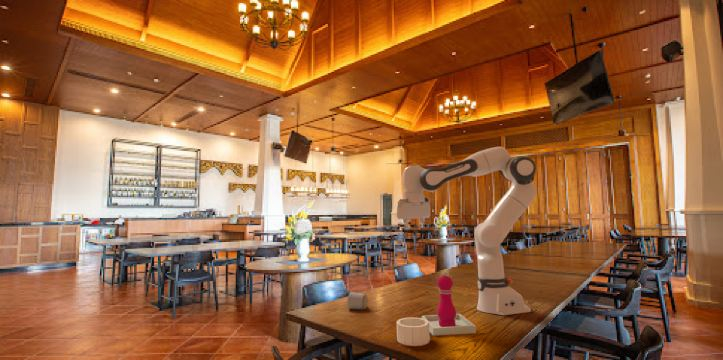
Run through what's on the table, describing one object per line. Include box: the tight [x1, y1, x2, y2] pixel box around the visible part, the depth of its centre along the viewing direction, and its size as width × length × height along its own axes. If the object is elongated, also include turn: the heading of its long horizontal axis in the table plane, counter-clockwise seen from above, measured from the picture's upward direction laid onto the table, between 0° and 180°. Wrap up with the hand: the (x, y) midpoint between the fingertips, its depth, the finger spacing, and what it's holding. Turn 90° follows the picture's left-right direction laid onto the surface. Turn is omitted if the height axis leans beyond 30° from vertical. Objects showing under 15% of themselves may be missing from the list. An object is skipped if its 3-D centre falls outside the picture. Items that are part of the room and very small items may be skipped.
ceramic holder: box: [396, 317, 431, 347], centre depth 119 cm, size 11×11×6 cm
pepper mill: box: [436, 271, 457, 327], centre depth 133 cm, size 7×7×20 cm
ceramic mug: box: [347, 291, 369, 311], centre depth 163 cm, size 11×8×8 cm
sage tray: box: [421, 313, 477, 337], centre depth 132 cm, size 16×16×2 cm
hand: (414, 228), depth 161 cm, fingers open, 8 cm apart
